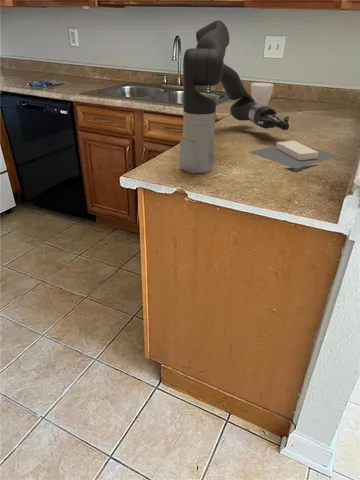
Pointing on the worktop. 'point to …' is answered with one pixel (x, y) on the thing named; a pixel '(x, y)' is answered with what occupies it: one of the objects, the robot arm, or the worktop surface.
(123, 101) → the worktop surface
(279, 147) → the tile
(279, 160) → the mat
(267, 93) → the cup
